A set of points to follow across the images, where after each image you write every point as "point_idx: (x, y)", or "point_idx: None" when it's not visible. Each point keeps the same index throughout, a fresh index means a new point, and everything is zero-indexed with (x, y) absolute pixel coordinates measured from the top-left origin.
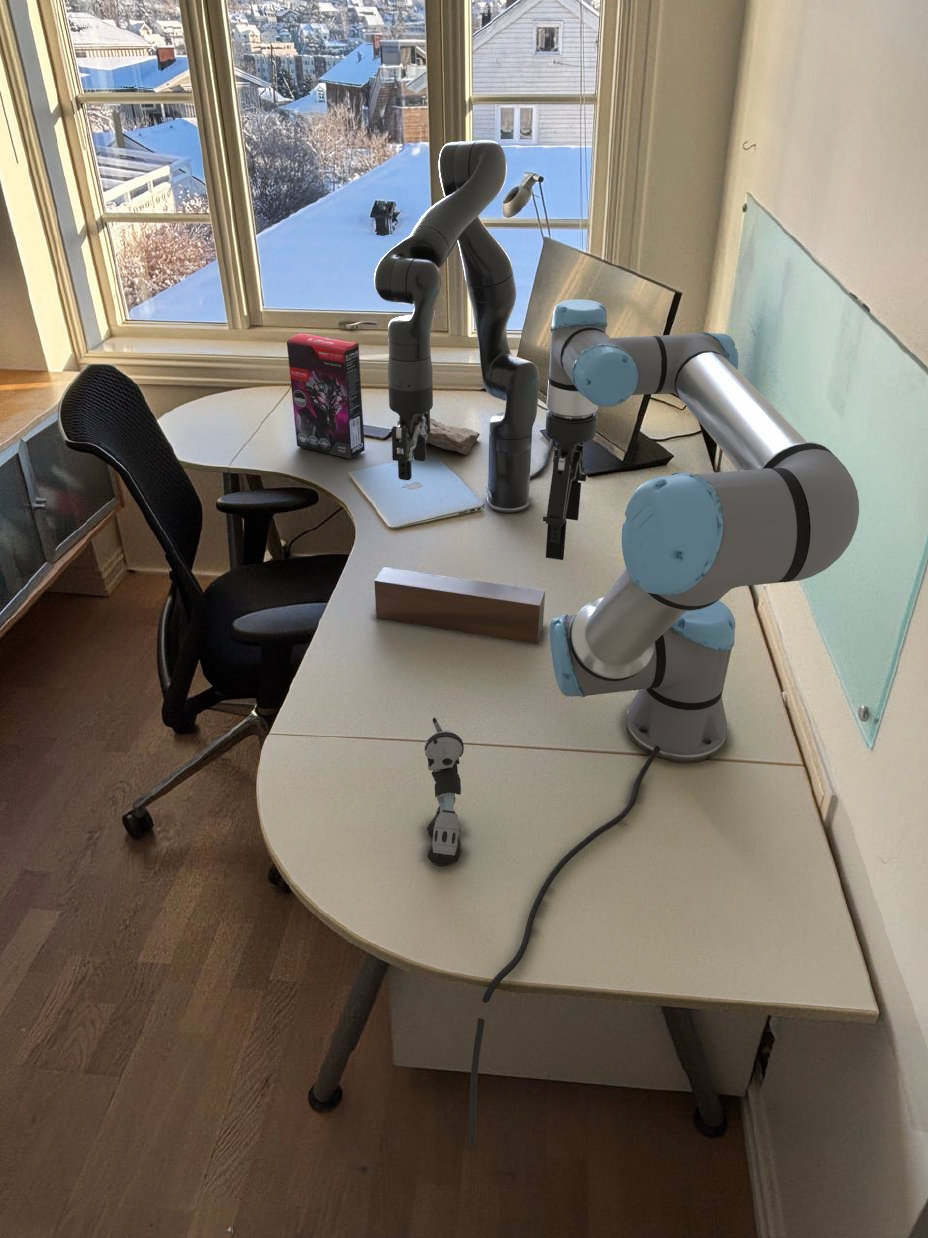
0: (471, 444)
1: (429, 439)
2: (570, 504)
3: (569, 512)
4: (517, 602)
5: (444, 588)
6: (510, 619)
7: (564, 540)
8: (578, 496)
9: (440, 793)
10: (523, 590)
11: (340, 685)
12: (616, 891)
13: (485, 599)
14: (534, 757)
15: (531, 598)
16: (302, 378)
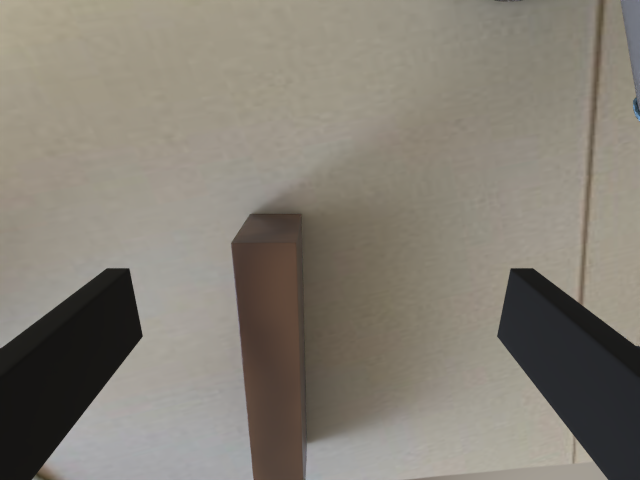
0: None
1: None
2: (90, 353)
3: (117, 325)
4: (297, 288)
5: (291, 417)
6: (300, 279)
7: (605, 325)
8: (35, 355)
9: None
10: (246, 286)
11: (470, 437)
12: None
13: (299, 344)
14: (614, 156)
15: (273, 264)
16: None
